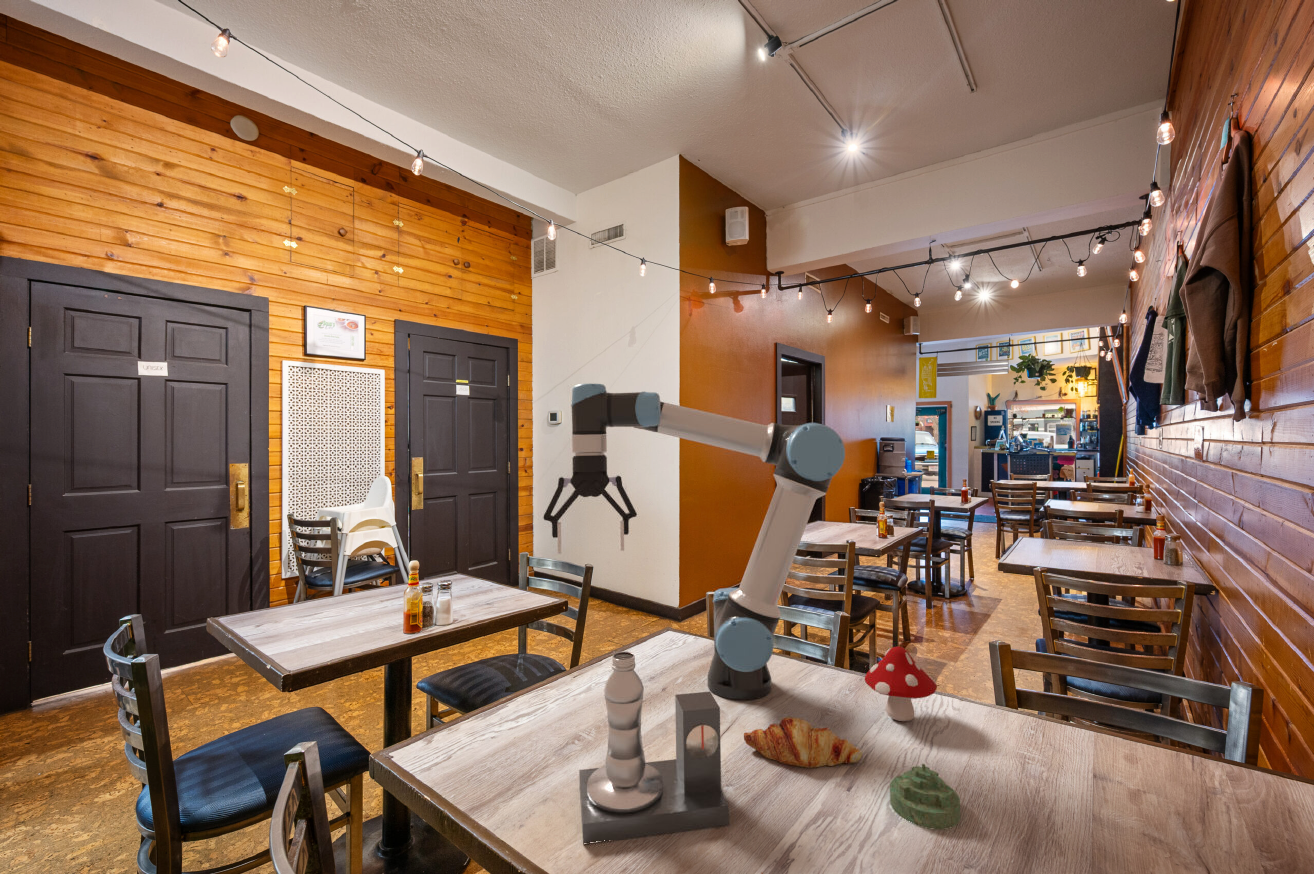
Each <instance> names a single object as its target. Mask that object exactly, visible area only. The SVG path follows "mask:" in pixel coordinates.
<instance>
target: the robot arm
mask: <svg viewBox="0 0 1314 874" xmlns="http://www.w3.org/2000/svg"><path fill="white" fill-rule="evenodd" d="M607 391H608V390H607V387H606V386H605V384H601V383H579V384H576V385H574V386H573V388H572V394H571V405H570V407H571V423H572V426H571V428H572V430H571V431H572V433H571V435H572V436H571V437H572V438H571V439H572V440H571V442H572V444H571V446H572V453H573V454H574V455H573V456H572V476H571V478H570V477H563V476H560V477H559V478H558V481H557V482H558V483H557V488H556V490H555V491H554V494H553V496H552V498H551V500H550V502H549V504H548V506H547V508H546V510H545V511H544V514H543V520H544V521H547V522H550V523H551V536H552V538H553V539H555V538H557V554H558V555H559V554H562V521H559V520H560V519H561V518H562V516H563V515H564V514H565V513H566V512H567V511H568V510H569V508H570V507H571V506H572V505H573V503H574V502H575V501H576V500H577V499H578V497H579V496H580V497H582V498H589V497H593V498H597V497H599V496H601V495H602V497H603V498H604V499H605V500H606V501H607V502H608V503H609V504H610V505H611V506H612V507H613V509H614V510H615V511H616V512H617V514H619V516H620V517H621V518H622V519H618V531H619V532H618V534H619V535H618V540H619V541H618V542H619V547H618V548H619V551H620V552H623V551H625V536H626V535H629V532H630V530H629V526H630V525H629V522H630V519H632V518H636V517H637V515H638V513H637V511H636V509H635V508H634V506H633V504H632V502H631V500H630V498H629V495H628V494H627V492H626V490H625V488H624V485H623V480H622V476H620V475H615V476H610V477H609V475H608V457H607V455H606V454H605V453H607V451H608V450H607V448H608V447H607V445H608V444H607V438H608V437H607V428H614V427H615V428H616V427H617V428H627V427H628V428H635V429H639V430H644V431H648V432H649V431H650V432H653V433H659V434H661V435H662V434H663V435H666V436H671V437H675V438H679V439H684V440H687V441H692V442H696V443H700V444H705V445H709V446H714V447H717V448H722V449H726V450H729V451H733V452H738V453H743V454H747V455H751V456H756V457H758V458H760V460H761V461H762V462H763V463H766V464H770V465H774V466H776V467H775V469H774V471H773V477H774V480H775V482H776V487H775V490H774V493H773V495H772V498H771V501H770V503H769V505H768V509H767V512H766V514H765V517H764V519H763V522H762V525H761V528H760V530H759V533H758V536H757V538H756V541H755V543H754V546H753V549H752V552H751V555H750V557H749V560H748V563H747V565H746V568H745V571H744V574H743V576H742V579H741V582H740V584H739V587H725V588H718V589H716V590H715V591H714V593H713V599H712V603H713V639H714V640H713V641H714V642H713V644H714V647H713V648H714V653H713V655H712V660H711V662H710V666H709V670H708V673H707V688H708V690H709V691H710V692H712V693H713V694H715V695H717V696H719V697H721V698H725V699H731V700H739V701H741V700H742V701H744V700H748V701H749V700H755V699H760V698H763V697H765V696H767V695H768V694H770V693H771V691H772V689H773V688H772V684H773V683H772V682H773V680H772V676H771V673H770V669H769V667H768V662H769V661H770V659H771V658H772V655H773V652H774V646H775V645H774V644H775V643H774V635H775V632H776V630H777V627H778V624H779V621H780V618H781V616H782V614H781V611H780V609H779V606H778V602H779V599H780V596H781V594H782V592H783V589H784V586H785V583H786V581H787V578H788V576H789V573H790V570H791V567H792V566H793V563H794V560H795V557H796V554H797V552H798V548H799V546H800V542H801V541H802V537H803V535H804V532H805V531H806V527H807V525H808V521H809V519H810V516H811V513H812V511H813V508H814V505H815V503H816V500H817V499H819V498H822V497H823V496H825V495H826V494H827V492H828V490H829V487H830V485H831V482H832V479H833V477H834V476H836V474H838V472H839V471H840V470H841V468H842V466H843V465H844V463H845V458H846V449H845V445H844V442H843V440H842V438H841V437H840V435H839V434H838V433H837V432H836V431H835V430H834V429H833V428H831V427H830V426H827V425H825V424H821V423H818V422H807V423H803V424H799V425H798V424H797V425H791V424H790V425H787V424H780V423H776V422H771V423H768V425H765V424H760V423H756V422H752V421H748V420H747V421H746V420H743V419H738V418H734V417H730V416H726V415H721V414H717V413H713V412H709V411H708V412H707V411H704V410H699V409H696V408H690V407H686V406H682V405H677V404H673V403H669V402H664V401H661V397H660V394H659V393H657V392H651V391H650V392H649V391H641V392H638V391H637V392H616V393H615V392H607ZM609 483H611V484H612V486H614V487H615V488H616V490H617V491H618V494H619V496H620V497H621V499H622V502H623V503H624V505H625V506H626V507H625V508H626V509H627V510H628V512H625V510H624V509H623V508H622V507H621V506H620V505H619V504H618V503H617V502H616V500H615V499H614V498H613V497H612V495H611V494H610V493H609V492H608V491H607V490H606V488H607V486H608V485H609ZM569 484H571V485H572V486H571V487H573V489H574V490H573V492H572V493H571V494H570V495H569V496H568V498H567V499H566V501H564V503H563V504H562V505H561V506H560V508H559V509H558V510H557V511H556V513H555V514H554V515H552V513H553V511H554V509H555V507H556V505H557V503H558V500H559V498H561V495H562V492H563V489H564V488H567V486H568V485H569Z"/></svg>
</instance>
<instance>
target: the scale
mask: <svg viewBox="0 0 1314 874" xmlns="http://www.w3.org/2000/svg"><path fill="white" fill-rule="evenodd" d="M711 692H712V691H701V692H691V693H681V694H674V695H675V696H674V697H675V699H674V701H675V752H676V753H675V757H676V758H675V759H666V760H665V759H664V760H657V761H648V762H647V761H645V762H646V764H648V765H650V766H652V767H654V768H655V769H656V770H657V771H658V772H659V773H660V774H661V776H662V780H663V790H662V793H661V796H660V797H659V798H658V800H657V801H656V802H654V803H653V804H652V805H650V806H648V807H646V808H644V809H641V810H638V811H633V812H611V811H607V810H604V809H601V808H599V807H597V806H596V805H594V804H593V803H592V802H591V801H590V799H589V797H588V794H587V783H588V779H589V777H590V776H591V775H592V774H593V773H594V772H595V771H596V770H597V769H599V768H600V767H596V768H585V769H578V770H579V773H578V775H579V776H578V778H579V780H578V781H579V783H578V784H579V785H578V786H579V798H580V814H581V816H580V817H581V833H582V834H583V835H582V845H583V844H584V843H590V842H596V841H604V840H605V841H609V840H616V841H622V839H623V840H629V839H631V840H632V839H637V838H638V839H639V838H643V837H651V836H658V835H659V836H660V835H666V834H675V833H682V832H688V831H697V830H703V829H713V828H719V827H726V826H729V825H730V814H729V813H730V812H729V810H730V809H729V804H728V801H727V799H726V797H725V795H724V793H723V790H722V764H721V762H722V760H721V758H722V755H721V754H722V752H721V749H722V748H721V707H720V705H719V704H718V702H717V700H716V699H715V697H714V696H713V694H712V693H711ZM609 842H610V841H609Z"/></svg>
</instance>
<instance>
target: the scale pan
mask: <svg viewBox="0 0 1314 874" xmlns="http://www.w3.org/2000/svg"><path fill="white" fill-rule="evenodd" d="M598 768H599V769H597V770H596V771H595V772H594V773H593V774H592V775H591V776H590V777H589V779H588V783H587V794H588V797H589V799H590V801H591V802H592V803H593V804H594V805H596V806H597V807H599V808H601V809H604V810H607V811H611V812H633V811H638V810H641V809H644V808H646V807H648V806H650V805H652V804H653V803H654V802H656V801H657V800H658V798H659V797H660V796H661V793H662V790H663V780H662V776H661V774H660V773H659V772H658V771H657V770H656V769H655V768H654V767H652V766H650V765H648V764H646V765H645V773H644V776H643V777H642V779H641V781H640V782H639V783H638V784H636V785H634V786H631V787H618V786H615V785H613V784H612V783H611V782H610V780H609V779H608V777H607V773H606V768H605V765H603V766H601V767H598Z"/></svg>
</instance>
